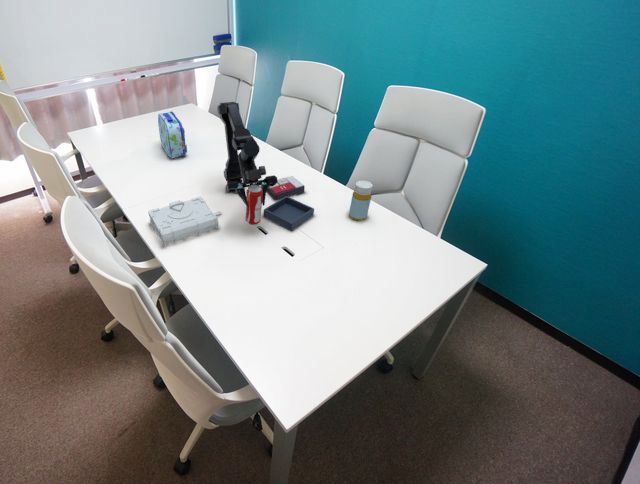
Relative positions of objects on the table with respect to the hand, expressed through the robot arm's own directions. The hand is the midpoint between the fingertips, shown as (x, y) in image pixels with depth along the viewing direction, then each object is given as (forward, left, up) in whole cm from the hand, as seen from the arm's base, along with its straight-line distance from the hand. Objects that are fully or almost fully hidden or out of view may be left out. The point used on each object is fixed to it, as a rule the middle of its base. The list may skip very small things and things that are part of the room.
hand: (256, 206), depth 126 cm
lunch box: (-52, +73, -12) cm, 90 cm away
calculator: (+11, +33, -12) cm, 36 cm away
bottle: (+41, +15, -12) cm, 45 cm away
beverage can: (-1, +1, -8) cm, 8 cm away
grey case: (-27, +3, -12) cm, 30 cm away
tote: (+13, +13, -12) cm, 22 cm away
